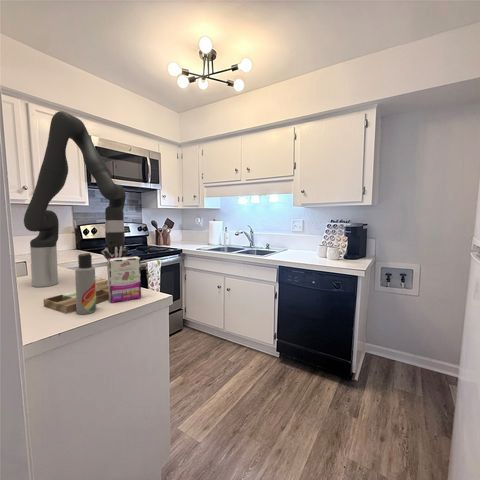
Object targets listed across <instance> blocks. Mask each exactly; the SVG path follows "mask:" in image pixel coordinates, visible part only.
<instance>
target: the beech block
mask: <svg viewBox="0 0 480 480" xmlns="http://www.w3.org/2000/svg"><path fill="white" fill-rule="evenodd" d="M95 286H96V290H99V289H102V288H106V287H108V279H105V278H104V279H103V278H100V277H99V278H95Z"/></svg>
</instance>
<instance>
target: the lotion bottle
mask: <svg viewBox="0 0 480 480" xmlns="http://www.w3.org/2000/svg"><path fill="white" fill-rule="evenodd" d="M92 256H93V255H92V254H91V252H90V253H89V252H87V253H80V254H78V256H77V262H78V267H76V268H74V269H75V271H74V275H75V291H76V309H77V310H76V313H77V314H78V315H89V314H90V315H91V314H92V313H94V312H95V311H96V310H97V304H96V286H95V279H96V267H95V266H93V265H92V261H93V259H92Z"/></svg>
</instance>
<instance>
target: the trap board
mask: <svg viewBox="0 0 480 480" xmlns="http://www.w3.org/2000/svg"><path fill="white" fill-rule="evenodd" d="M105 301H109V289H108V287H106V288H102V289H99V290H96V305H97V304H100V303H103V302H105ZM43 307H45V308H48V309H50V310H51V309H52V310H55V311H58V312H61V313H64V314H69V313H70V314H71V313H73V312H75V311H76V312H77V309H76V290H73V291H70V292H67V293H63V294H59V295H54V296H51V297H48V298H44V299H43Z"/></svg>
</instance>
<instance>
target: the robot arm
mask: <svg viewBox="0 0 480 480" xmlns="http://www.w3.org/2000/svg"><path fill="white" fill-rule="evenodd" d="M48 130H49V131H48V138H47V144H46V149H45V152H44V156H43V159H42V163H41V165H40V169H39V173H38V175H37V176H38V177H37V180H36V181H37V182H36V185H35V187H34V190H33V193H32V197H31V199H30V201H29V204H28V206H27V208H26V210H25V213H24V217H23V224H24V228H25V229H26V230H27V231H30V232H34V233H35V232H38V234H37V236H35V237H34V238H33V239H31V240H30V242H29V244H30V247H29V249H30V270H31V271H30V272H31V275H30V276H31V285H32V287H34V288H35V287H36V288H44V287H45V288H46V287H52V286H55V285H57V284H59V276H58V275H59V271H58V253H57V251H58V248H57V247H58V246H57V243H58V240H59V231H60V230H59V228H60V225H59V224H60V223H59V217H58V215H57V214H56V212H55V211H52V210H49V209H48V206H49V204H50V202H51V201H52V200H53V199H54V198H55V197H56V196H57V194H59V193H60V191H61V190H62V189H64V186H65V184H66V181H67V177H68V175H69V163H68V160H67V159H68V158H67V153H66V152H67V146H68V143H69V140H72V141H73V142H74V144H76V146H77V147H78V148H79V150H80V152H81V154H82V158H83V163H84V164H85V167H86V169H87V170H88V172H89V173H90V175H91V176H92V178H93V179H94V180H95V184H96V186H97V189H98V191H99V193H100V194H101V195H102V197H103V198H104V199H106V200H108V201H109V202H108V206H107V207H105V208H104V209H105V210H104V215H105V223H104V234H105V242H106V245H105V248H104V249H103V250H101V251H100V253H101V255H103V257H104V258H105V259H106V260H107V261H108V259H111V258H123V257H127V256H126V255H127V254H128V252H129V250H130V248H129V247H126V245H125V240H126V237H125V222H124V221H125V219H124V208H125V204H126V197H127V195H126V191H125V188H124V187H123V185H120V184H117V183H115V182H114V181H113V179H112V177H113V174H112V173H111V171H110V169H109V168H108V166H107V164H106V163H105V161H104V160H103V158H102V157H101V155H100V153H99V151H98V150H97V149H96V146H95V144H94V142H93V140H92V137H90V134H89V132H88V129H87V127H86V126H85V124H84V122H83V121H82V120H81V119H80V118H78V117H76V116H75V115H72V114H70V113H68V112H67V111H62V110H59V111H57V112H55V113H54V114H53V116H52V117H51V121H50V125H49V129H48Z"/></svg>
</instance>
